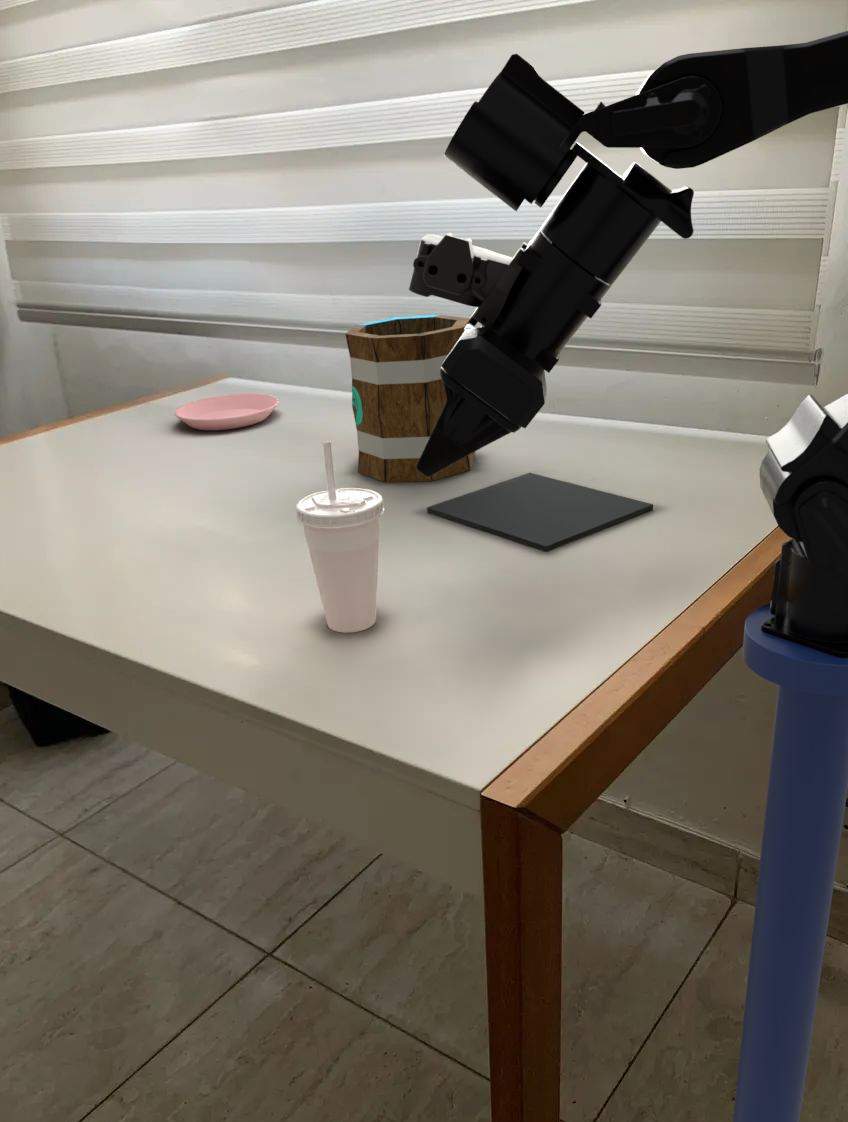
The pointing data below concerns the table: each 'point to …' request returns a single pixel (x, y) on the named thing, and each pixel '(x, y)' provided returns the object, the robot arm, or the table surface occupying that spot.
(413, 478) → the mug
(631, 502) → the mat
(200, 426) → the plate
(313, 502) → the smoothie
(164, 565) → the table surface
